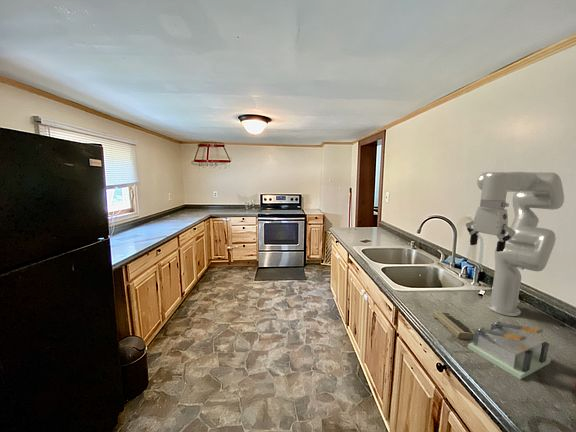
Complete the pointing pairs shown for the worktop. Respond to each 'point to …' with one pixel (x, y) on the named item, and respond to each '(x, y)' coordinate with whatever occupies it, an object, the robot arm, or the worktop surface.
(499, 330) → the grey rack unit
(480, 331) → the strip
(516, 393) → the worktop surface
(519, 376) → the board
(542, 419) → the worktop surface
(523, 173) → the robot arm
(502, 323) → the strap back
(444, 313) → the computer
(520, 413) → the worktop surface
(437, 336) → the worktop surface
